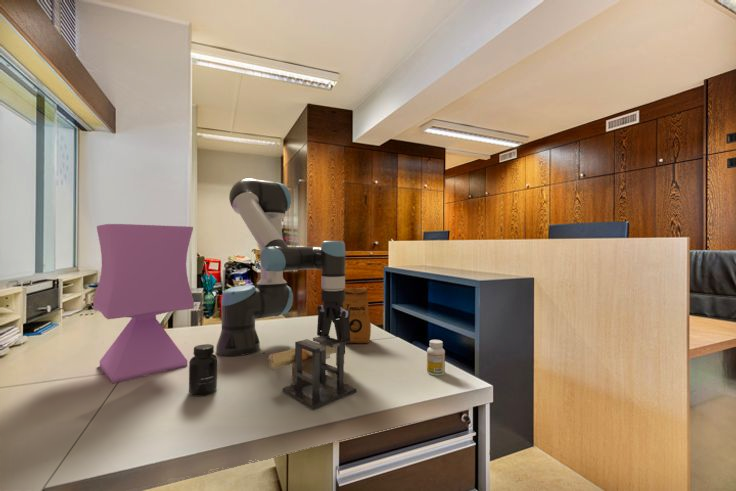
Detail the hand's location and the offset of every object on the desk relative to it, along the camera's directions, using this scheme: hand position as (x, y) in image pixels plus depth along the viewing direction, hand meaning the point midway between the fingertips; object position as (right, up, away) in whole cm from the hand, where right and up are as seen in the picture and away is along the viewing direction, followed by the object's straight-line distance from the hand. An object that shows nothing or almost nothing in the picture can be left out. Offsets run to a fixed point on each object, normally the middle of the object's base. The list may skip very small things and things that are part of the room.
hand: (332, 361), depth 108 cm
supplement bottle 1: (-33, -2, -17) cm, 37 cm away
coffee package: (+6, -2, +30) cm, 31 cm away
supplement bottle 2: (+32, -3, -3) cm, 32 cm away
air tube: (-7, +5, -7) cm, 11 cm away
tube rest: (-7, -2, -7) cm, 10 cm away
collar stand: (-2, -2, -17) cm, 18 cm away
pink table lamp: (-61, -2, +1) cm, 61 cm away
